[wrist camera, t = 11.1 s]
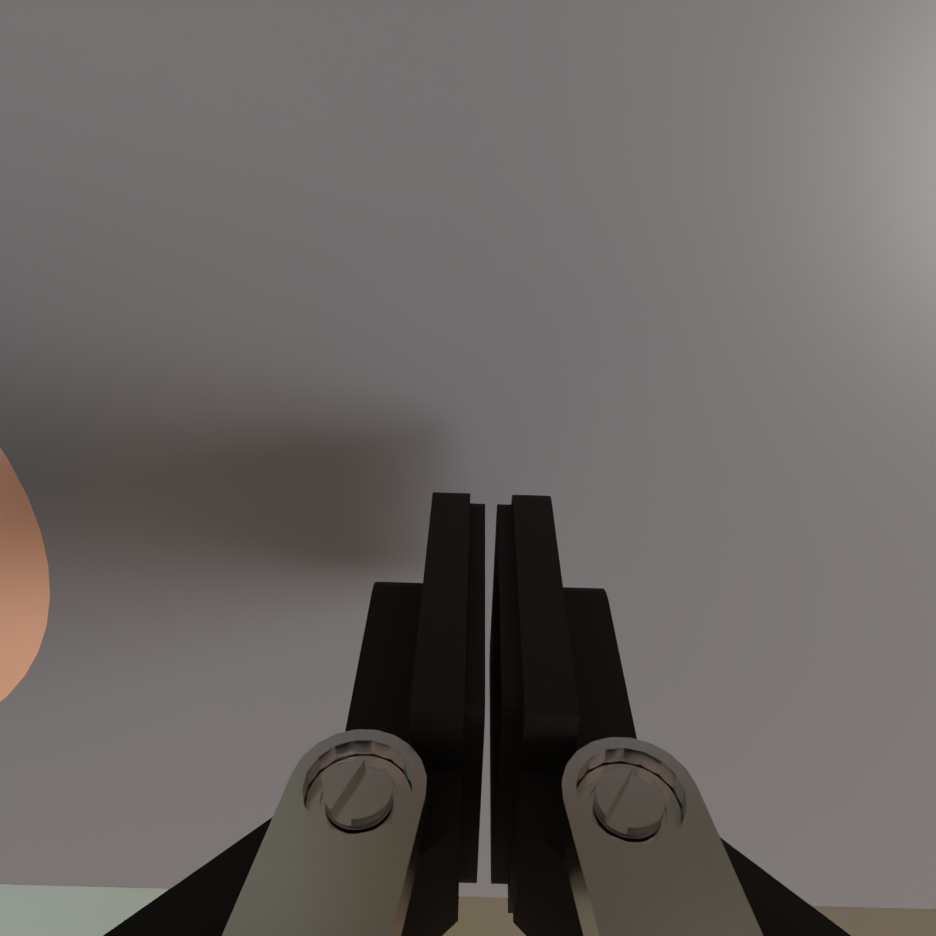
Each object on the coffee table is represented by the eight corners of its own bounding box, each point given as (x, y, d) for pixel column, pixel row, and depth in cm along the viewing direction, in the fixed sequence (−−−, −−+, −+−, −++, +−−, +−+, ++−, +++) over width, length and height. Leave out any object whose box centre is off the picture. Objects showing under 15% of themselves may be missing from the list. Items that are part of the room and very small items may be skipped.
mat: (-1508, -269, 9) (-1533, -273, 8) (1614, -193, 8) (1628, -196, 8) (-469, 867, 18) (-475, 872, 18) (980, 906, 18) (983, 910, 18)
